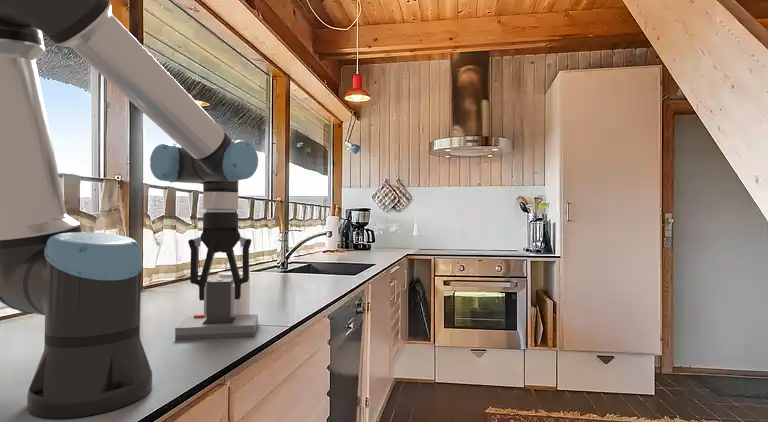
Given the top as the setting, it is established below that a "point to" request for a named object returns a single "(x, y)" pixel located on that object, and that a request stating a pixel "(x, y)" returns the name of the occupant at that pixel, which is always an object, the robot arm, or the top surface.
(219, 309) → the dark grey upright block
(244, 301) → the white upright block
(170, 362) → the top surface
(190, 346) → the top surface
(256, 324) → the socket faceplate
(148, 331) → the top surface
